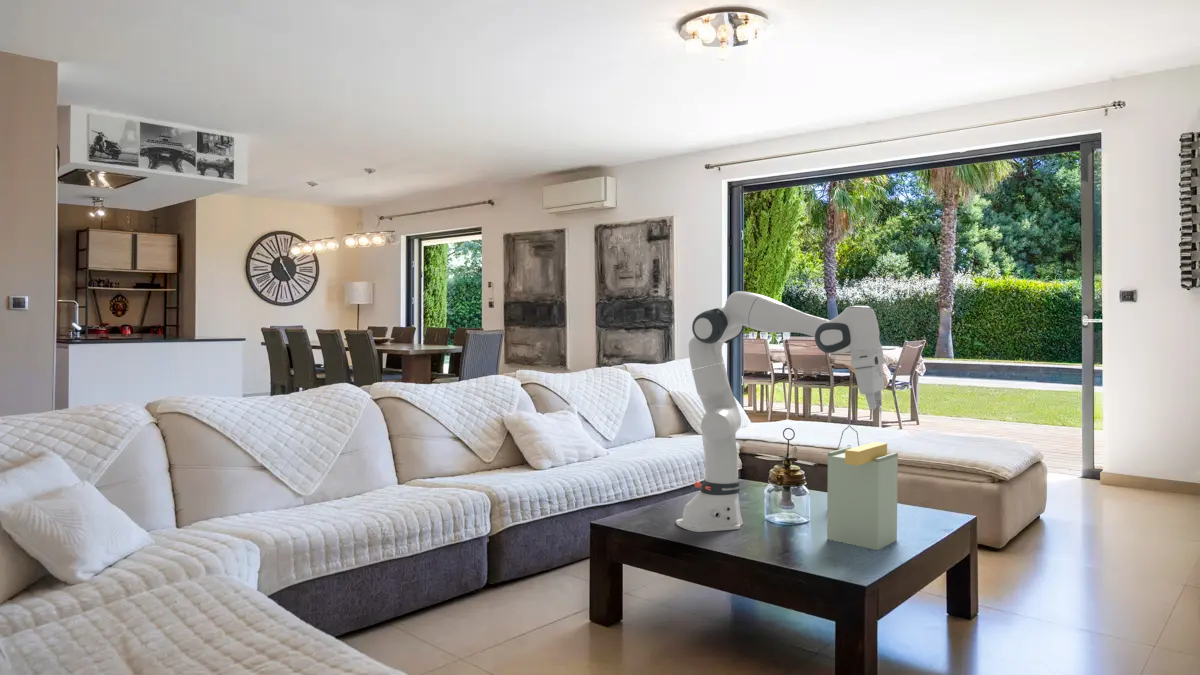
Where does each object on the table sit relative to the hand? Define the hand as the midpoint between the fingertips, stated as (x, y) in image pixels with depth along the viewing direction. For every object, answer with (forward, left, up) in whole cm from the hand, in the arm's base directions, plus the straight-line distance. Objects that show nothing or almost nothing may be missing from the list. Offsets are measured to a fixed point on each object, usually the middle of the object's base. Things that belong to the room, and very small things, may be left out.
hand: (875, 407), depth 222 cm
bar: (+4, +8, -17) cm, 19 cm away
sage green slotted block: (+8, +13, -43) cm, 45 cm away
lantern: (+33, +44, -43) cm, 70 cm away
